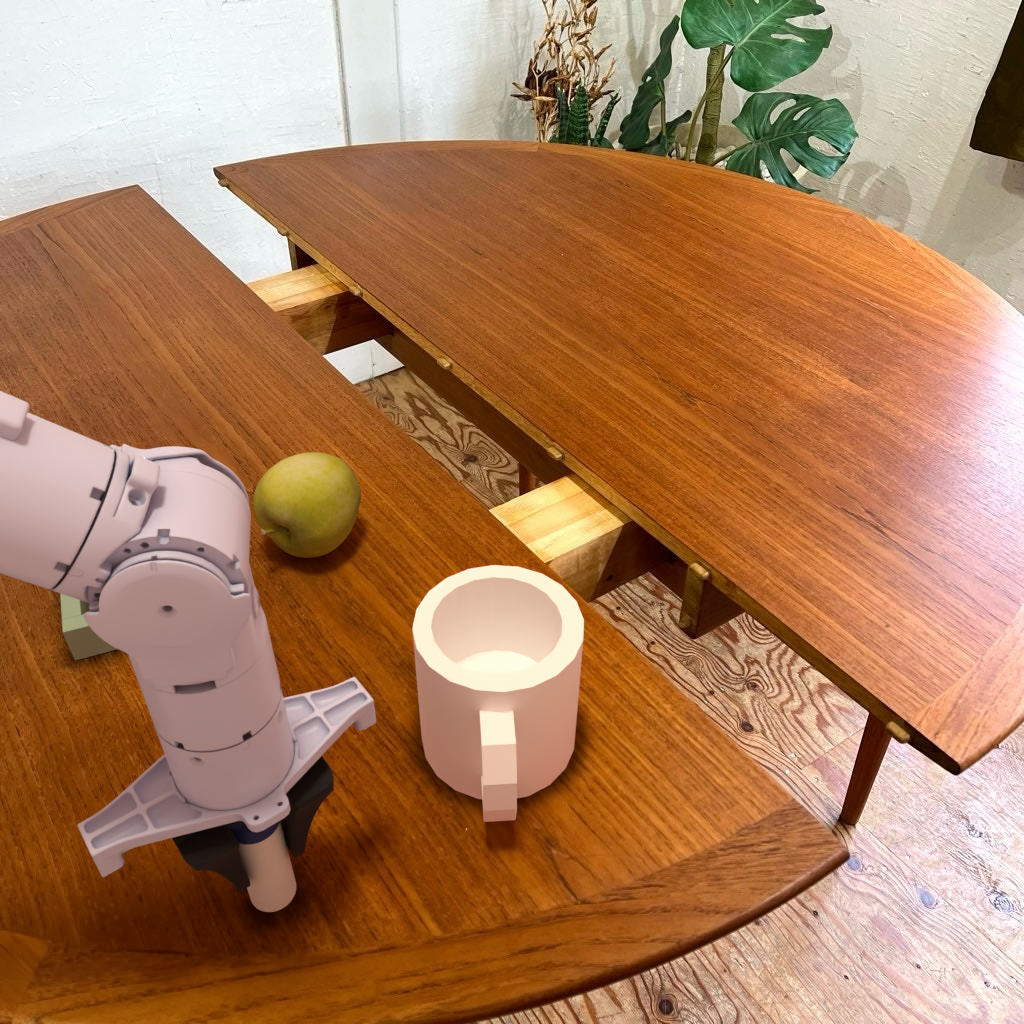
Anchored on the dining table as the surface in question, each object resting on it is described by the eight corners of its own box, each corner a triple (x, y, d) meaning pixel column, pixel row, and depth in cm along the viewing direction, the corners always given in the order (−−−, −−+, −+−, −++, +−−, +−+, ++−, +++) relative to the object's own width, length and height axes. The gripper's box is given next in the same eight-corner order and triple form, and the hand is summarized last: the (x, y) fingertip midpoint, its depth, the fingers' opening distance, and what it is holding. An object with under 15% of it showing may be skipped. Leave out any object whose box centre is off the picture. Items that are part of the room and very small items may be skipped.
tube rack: (161, 637, 70) (152, 609, 68) (74, 661, 68) (62, 632, 66) (140, 511, 81) (131, 483, 79) (64, 528, 79) (53, 500, 77)
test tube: (261, 925, 53) (235, 843, 48) (238, 885, 55) (210, 801, 49) (308, 895, 54) (288, 812, 49) (284, 857, 56) (262, 773, 51)
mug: (592, 844, 58) (604, 736, 51) (422, 855, 57) (411, 747, 50) (565, 670, 68) (573, 561, 61) (421, 678, 67) (412, 568, 60)
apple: (238, 563, 76) (219, 484, 71) (305, 498, 82) (293, 421, 77) (320, 594, 74) (306, 515, 68) (383, 524, 80) (375, 447, 75)
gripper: (87, 853, 38) (164, 1002, 47) (400, 680, 45) (415, 839, 53) (32, 734, 42) (112, 892, 51) (325, 593, 49) (351, 754, 58)
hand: (263, 858), depth 52 cm, fingers closed on test tube, 3 cm apart
